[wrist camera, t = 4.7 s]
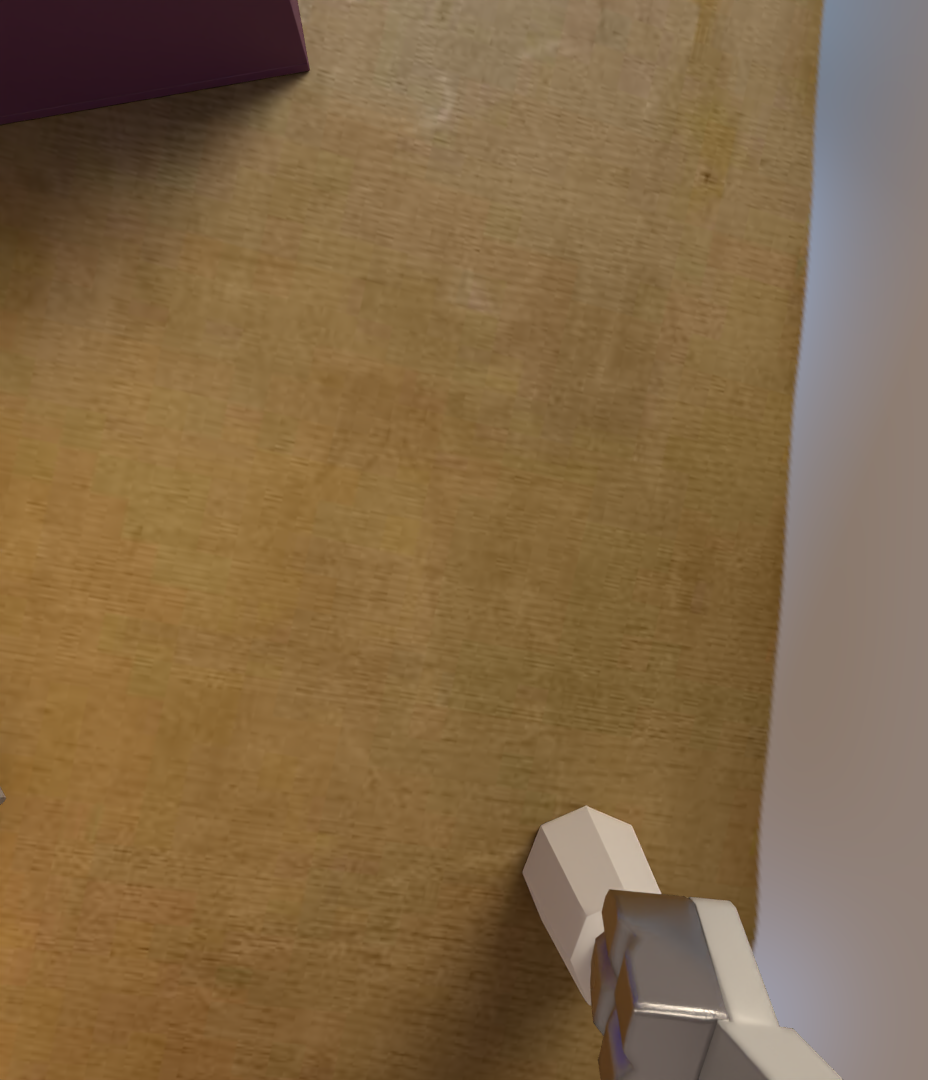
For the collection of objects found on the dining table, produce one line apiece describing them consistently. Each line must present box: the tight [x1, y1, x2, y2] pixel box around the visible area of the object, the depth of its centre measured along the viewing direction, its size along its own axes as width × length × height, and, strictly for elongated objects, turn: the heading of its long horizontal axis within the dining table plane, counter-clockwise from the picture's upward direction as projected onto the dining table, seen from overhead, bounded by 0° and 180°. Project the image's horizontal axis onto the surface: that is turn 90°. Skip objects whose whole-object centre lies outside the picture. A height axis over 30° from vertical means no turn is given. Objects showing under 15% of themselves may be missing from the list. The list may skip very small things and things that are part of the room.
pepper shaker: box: [522, 806, 661, 1005], centre depth 26 cm, size 5×5×11 cm
